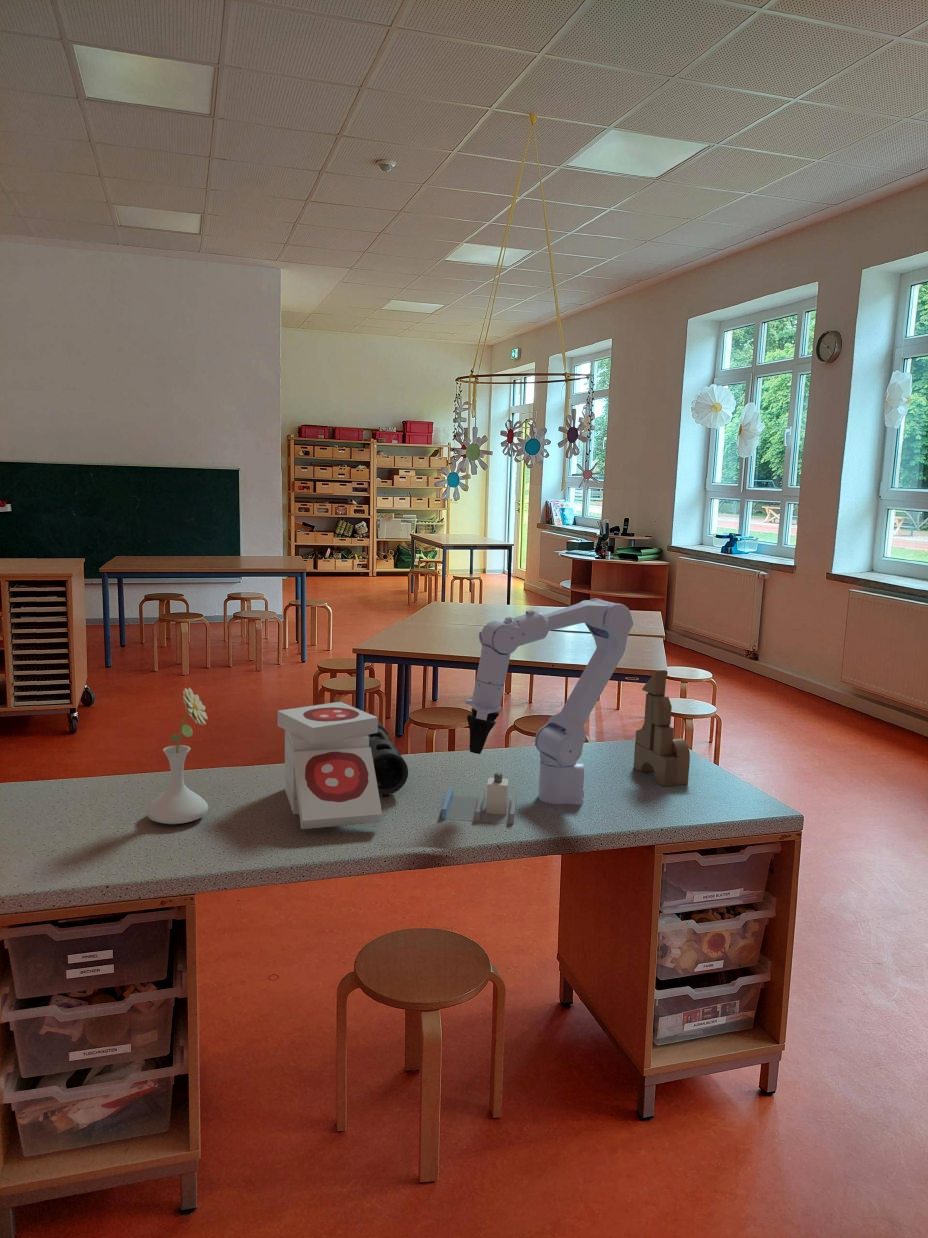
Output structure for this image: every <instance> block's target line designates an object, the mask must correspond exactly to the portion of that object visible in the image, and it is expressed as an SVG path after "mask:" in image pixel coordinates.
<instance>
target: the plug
mask: <svg viewBox="0 0 928 1238" xmlns="http://www.w3.org/2000/svg"><path fill="white" fill-rule="evenodd" d="M486 798H487V803H486V813H490V814H504V815H506V813H507V803H508V800H509V799H508V798H509V778H503V773H500V772H496V773H493V777H488V780H487V785H486Z"/></svg>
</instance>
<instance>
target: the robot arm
mask: <svg viewBox="0 0 928 1238" xmlns="http://www.w3.org/2000/svg"><path fill="white" fill-rule="evenodd" d="M630 610H631V609H630V608H629V607H627V606H626V605H625V604H623V603H616V602H611V601H607V600H603V599H601V598H597V597H596V598H592V599H589V600H588V599H587V600H586V599H584V600H582V601H580V602H577V603H576V604H573V605H570V606H566V607H564V608H560V609H558V610H555V611H552V612H550V613H546V614H543V613H541V612H539V611H537V610H536V611H535V610H533V609H528V610H526V611H525V614H522V615H519V616H515V617H511V616H507V617H505V618H504V620H503V621H502V622H501V621H498V620H492V621H489V622H487V623H486V624H485V625H484V626H483V628H482V629H481V631H479V632H478V639H479V642H480V644H481V650H480V657H479V662H478V668H477V673H476V677H475V683H474V687H473V692H472V698H471V699H468V698H466V700H465V702H464V704H466V705H470V706H471V713H472V714H469V713H468V714H467V716H466V718H467V719H466V720H467V723H468V728H469V752H470V753H473V754H476V755H481V753H482V751H483V749H484V746H485V744H486V741H487V740H488V736H489V734H490V732H491V731H492V730H493V727H494V726H495V725H496V723H497V721H496V719H497V718H498V717H499V716H500V711H501V708H502V707H501V703H502V698H503V695H504V694H503V693H504V688H505V684H506V677H507V673H508V669H509V663H510V659H511V654H513V653H514V652H515V651H516V650H517V649H518V647H520V646H525V645H527V644H530V643H535V642H538V641H540V640H544V639H546V637H547V636H548V635H549V632H550V631H554V630H555V631H556V630H559V629H563V628H567V627H571V626H575V625H576V626H577V625H579V624H584V625H585V626H586V627H587V629H588V630H589V632H590V634H591V636H592V637H593V640H594V643H595V646H596V649H595V650H594V652H593V654H592V656H591V657H590V659H589V661H588V663H587V664H586V665H585V666H586V667H585V668H584V670H583V672H582V674H580V677H579V679H578V681H577V682H576V684H575V686H574V687H573V689H572V691H571V693H570V695H569V696H568V698H567V699H566V701H565V703H564V705H563V707H562V709H561V710H560V712H558V713H556V714H554V715H553V716H550V717H549V718H548V721H546V723H545V724H544V725H542V727H540V728H539V729H538V731H537V732H536V734H535V736H534V746H535V748H536V749H537V750H538V752H539V760H540V761H539V772H538V773H539V776H538V791H537V792H538V793H537V795H538V799H539V800H540V801H541V802H543V803H547V804H552V805H576V806H577V805H579V806H583V799H584V798H585V789H584V784H585V783H584V779H585V764H584V763H585V762H584V763H583V762H579V759H580V758H581V756H582V754H583V753H582V752H583V748H584V744H585V741H586V739H587V733H586V730H585V729H586V728H585V724H586V722H587V720H588V719H589V717H590V715H591V713H592V711H593V709H594V708H595V706H596V704H597V702H598V701H599V699H600V697H601V695H602V693H603V691H604V690H605V688H606V687H607V685H608V683H609V680H611V677H612V676H613V674H614V672H615V670H616V669H617V667H618V665H619V663H620V662H621V660H622V658H623V656H624V654H625V651H626V648H627V640H628V635H629V634H630V632H631V629H632V628H633V626H634V621H633V618H632V617H633V616H632V613H631V611H630Z"/></svg>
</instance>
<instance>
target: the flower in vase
mask: <svg viewBox="0 0 928 1238" xmlns="http://www.w3.org/2000/svg"><path fill="white" fill-rule="evenodd" d="M193 691H194V690H192V689H191V687H188V688H184V690H183V692H182V694H183V695H182V698H183V700H182V701H183V704H184V705H185V709H186V710H187V711H186V712H185V714H184V717H183V719H182V721H181V724H180V729H179V732H178V735H176V734H174V733H173V734H172V735H171V737H170V738H169V739H168V741H170V742H177V743H176V745H175V744H174V745H169V746H166V747H164V748H163V749H162V753H164V754H165V755H166V757H167V760H168V763H169V768H170V785H169V786H168V788H167V789H166V790H165V791H164V792H163V793H161V794H159V796H157V797H156V798H155V799H154V800H153V801H152V802H151V803H150V804H149V805H148V806H147V809H146V812H145V814H146V816H147V817H148V818H149V820H151V821H153V822H155V823H158V824H159V823H160V824H167V825H178V824H179V825H180V824H185V823H190V822H194V821H197V820H199V819H201V818H203V817H204V816H205V815H206V814H207V813H208V812H209V804H208V803H207V801H206V800H205V799H204V798H203V797H201V796H200V795H199V794H197V793H196V792H194V791H192V790H191V789H189V788H188V787H187V786H186V784H185V781H184V780H185V779H184V767H185V766H184V765H185V761H186V758H187V755H188V754H189V752H190V751H191V747H190V746H188V745H183V744H180V741H181V740H182V739H183V738H184V736H185V737H186V738H190V737H192V736H193V728H192V727H191V726H190V725H188V724H184V723H185V722H186V718H187V716H188V715H189V716H190V717H191V720H193V721H194V723H195V724H196V725H200V726H204V725H207V723H206V721H208V719H209V718H208V715H207V712H205V711H206V706H205V705H204V704H203V702H202V700H200V696H199V694H194V692H193ZM205 720H206V721H205ZM181 735H184V736H181Z"/></svg>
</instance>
